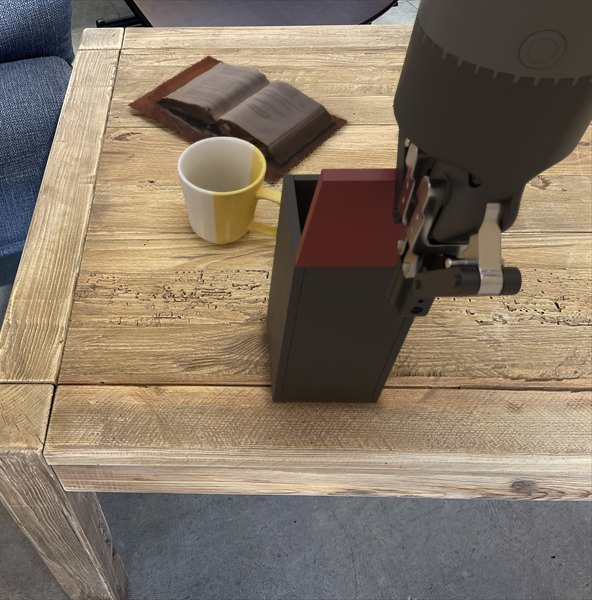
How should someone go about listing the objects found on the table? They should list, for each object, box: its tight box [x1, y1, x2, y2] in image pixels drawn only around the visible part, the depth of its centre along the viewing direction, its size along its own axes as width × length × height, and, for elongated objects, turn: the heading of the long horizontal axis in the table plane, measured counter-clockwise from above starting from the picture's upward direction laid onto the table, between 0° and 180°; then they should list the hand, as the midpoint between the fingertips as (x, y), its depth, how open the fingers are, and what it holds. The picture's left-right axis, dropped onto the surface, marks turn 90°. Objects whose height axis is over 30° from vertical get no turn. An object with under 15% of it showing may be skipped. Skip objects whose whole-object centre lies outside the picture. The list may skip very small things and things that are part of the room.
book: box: [127, 55, 348, 184], centre depth 91 cm, size 20×28×4 cm
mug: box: [176, 137, 282, 245], centre depth 72 cm, size 14×10×10 cm
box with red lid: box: [265, 173, 416, 404], centre depth 56 cm, size 11×11×21 cm
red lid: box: [295, 167, 443, 267], centre depth 39 cm, size 12×11×1 cm
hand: (405, 305), depth 36 cm, fingers closed
